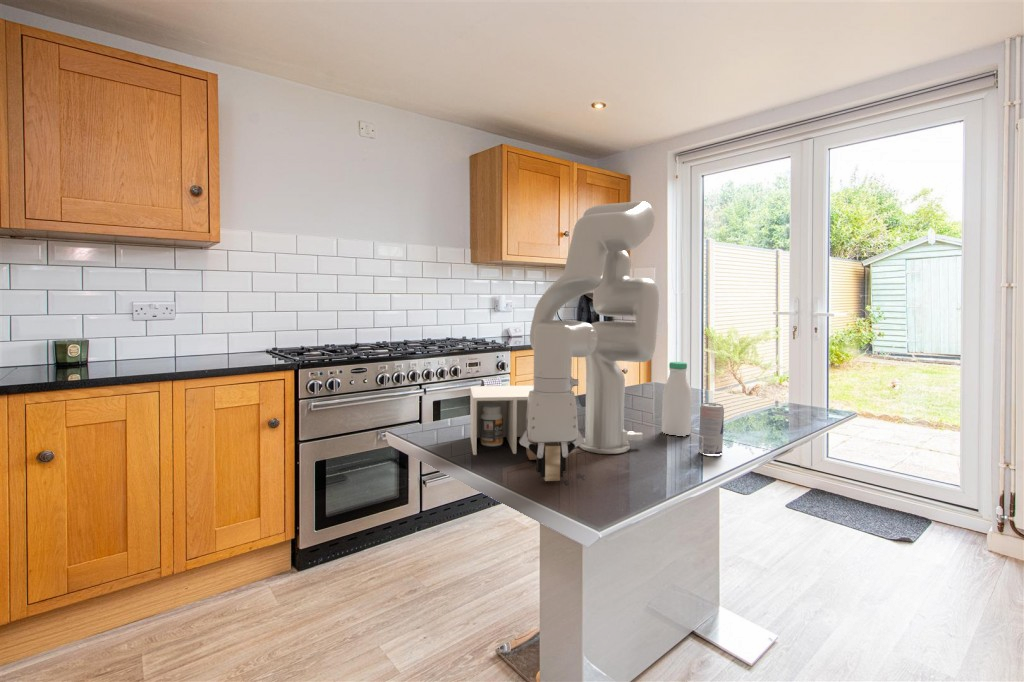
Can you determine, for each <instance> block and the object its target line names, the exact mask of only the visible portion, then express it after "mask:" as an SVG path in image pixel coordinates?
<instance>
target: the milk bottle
mask: <svg viewBox="0 0 1024 682" xmlns="http://www.w3.org/2000/svg"><path fill="white" fill-rule="evenodd" d="M668 366H669V367H668V368H669V374H668V375H669V376H668V378H667V379H666V380H667V381H666V382H665V384H664V386H663V389H662V390H663V391H662V404H661V405H662V407H661V409H662V410H661V433H662V432H663V433H662V434H664V433H665V434H664V435H666V434H669V435H688V434H690V435H691V433H692V432H691V431H692V429H691V428H692V408H693V407H692V405H693V404H692V402H693V401H692V400H693V399H692V398H693V396H692V393H693V392H692V387H691V385H690V383H689V380H688V378H687V371H688V370H687V369H688V364H687V362H686V361H685V362H684V361H670V362H669V365H668ZM669 435H668V436H669Z"/></svg>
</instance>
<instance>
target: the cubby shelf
mask: <svg viewBox="0 0 1024 682" xmlns="http://www.w3.org/2000/svg"><path fill="white" fill-rule="evenodd" d="M533 385H534V384H531V385H478V386H476V385H474V386H472V385H471V386H470V387H469V388H470V389H469V391H470V393H469V394H470V395H469V396H470V397H469V398H470V399H469V401H470V402H469V403H470V407H469V409H470V410H469V411H470V413H469V414H470V421H469V425H470V428H469V430H470V431H469V432H470V435H469V438H470V444H471V451H472V455H473V456H477V454H478V453H477V451H478V450H477V439H481V415H482V414H483V413H484V412H483V405H487V404H497V405H500V406H501V411H500V413H501V414H502V416H503V438H506V440H507V443H508V444H509V447H510V449H511V452H512V454H513V455H514V454H515V455H516V454H517V448H518V447H517V443H518V442H517V441H518V440H517V438H518V437H520V438H521V436H522V434H523V432H524V430H525V426H526V410H527V401H528V396H529V391H532V390H533Z"/></svg>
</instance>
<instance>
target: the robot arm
mask: <svg viewBox="0 0 1024 682" xmlns="http://www.w3.org/2000/svg"><path fill="white" fill-rule="evenodd" d="M654 225H655V212H654V209H653V206H651V204H650V203H648V202H646V201H642V200H641V201H639V200H638V201H627V202H617V203H605V204H598V205H593V206H592V207H589V208H588V209H586V210H585V211H584V212H583V215H582V217H580V218H579V219H578V220H577V221H576V223H575V225H574V228H573V232H572V236H571V241H570V245H569V249H568V253H567V257H566V261H565V266H564V270H563V271H564V272H563V273H562V275H561V276H560V277H559V278H558V279H557V280H555V281H554V282H553V283H552V284H551V285H550V286H549V287H548V288H547V290H546V291H544V293H543V295H542V296H541V297H540V299H539V300H538V302H537V304H536V306H535V309H534V312H533V317H532V321H531V326H530V331H529V343H530V347H531V349H533V384H532V385H533V390H532V391H529V396H528V401H527V410H526V426H525V430H524V432H523V434H522V436H521V437H520V438H519V440H518V443H519V444H520V446H523V447H525V448H528V449H530V450H531V451H532V452H533V453H534V454H535V455H536V456H537V459H536V472H537V473H539V475H540V477H541V479H544V477H545V458H544V454H543V452H544V443H557V442H558V444H559V445H560V478H564V472H565V473H566V471H567V458H568V457H569V454H570V453H571V452H572V451H574V449H575V448H577V447H579V448H580V449H582V450H584V451H586V452H588V453H589V452H590V453H595V454H602V455H603V454H604V455H614V454H623V453H626V452H628V451H629V450H630V449H631V447H630V442H631V441H643V440H644V439H643V438H644V435H643V433H642V432H635V431H632V430H631V431H629V430H628V431H627V430H626V429H625V389H626V378H625V375H624V372H623V371H622V369H621V367H620V366H619V365H618V363H617V362H632V363H645V362H649V361H651V360H652V359H653V357H654V354H655V350H656V343H657V332H658V319H659V305H660V304H659V301H660V296H659V295H660V294H659V289H658V286H657V284H656V282H655V281H654V280H653V279H651V278H647V277H630V276H631V275H630V274H631V257H630V255H629V254H628V252H627V251H631V250H634V249H637V247H639V246H640V245H641V244H642V243H643V242H644V241H645V240H646V239H647V238H648V237H649V236H650V234H651V233H652V231H653V229H654ZM592 291H593V293H592V306H593V310H594V312H595V313H596V314H597V315H601V316H603V317H613V318H615V317H617V318H618V317H619V318H621V317H623V318H625V317H626V318H634V319H635V321H634V322H632V321H629V322H628V321H610V320H609V321H607V320H606V321H605V320H604V321H603V320H602V321H595V322H592V323H589V322H587V321H577V320H557V319H556V320H555V319H554V318H555V315H556V314H557V313H558V311H559V310H560V309H561V308H562V307H563V306H564V305H566V304H567V303H569V302H570V301H572V300H575V299H577V298H579V297H581V296H584V295H586V294H588V293H590V292H592ZM573 358H584V359H585V374H586V375H585V376H586V377H585V422H584V423H585V424H584V427H585V428H584V429H585V430H584V432H585V433H584V436H585V437H583V435H582V433H581V432H580V430H579V425H578V424H579V422H578V421H579V420H578V410H577V409H578V408H577V400H576V396H575V395H576V394H575V392H574V391H573V388H574V387H575V386H577V387H578V386H579V379H578V378H577V379H576V378H573V376H572V366H573V365H572V363H573V362H572V359H573ZM528 438H529V440H530V441H531V442H530V441H528ZM532 442H534V443H536V445H535V444H534V443H532Z"/></svg>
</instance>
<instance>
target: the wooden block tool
mask: <svg viewBox="0 0 1024 682" xmlns="http://www.w3.org/2000/svg"><path fill="white" fill-rule="evenodd" d="M528 441H530V440H529V438H528ZM530 442H531V441H530ZM532 443H534V442H532ZM534 444H535V445H536V443H534ZM525 448H526V447H525ZM525 450H526V452H525V453H526V455H527V457H528V460H531V461H532V460H537V456H536V455H535V454H534V453H533V452H532V451H531V450H530V449H528V448H526V449H525ZM543 454H544V458H545V477H544V478H543V480H544V481H545V482H551V481H553V482H554V481H555V482H556V481H557V482H558V481H561V477H560V445H559V442H557V443H544V452H543Z"/></svg>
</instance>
